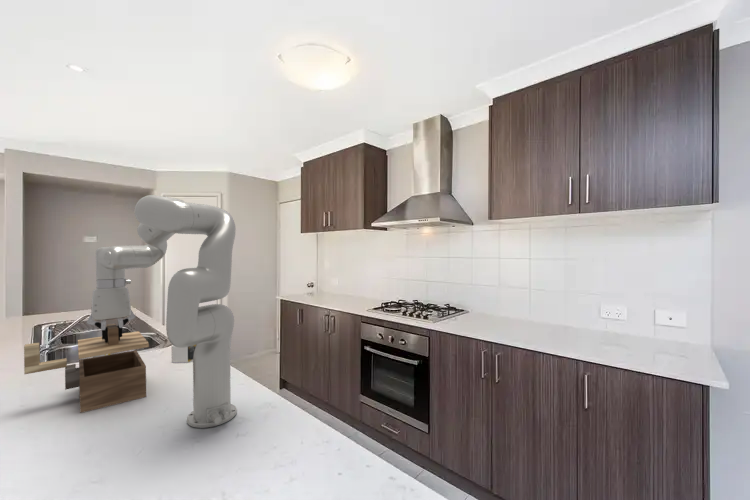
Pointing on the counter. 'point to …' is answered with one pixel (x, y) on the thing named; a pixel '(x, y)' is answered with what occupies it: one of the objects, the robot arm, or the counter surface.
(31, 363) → the bent tan strip
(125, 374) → the brown wooden box
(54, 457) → the counter surface
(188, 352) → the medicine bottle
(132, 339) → the lid
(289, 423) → the counter surface
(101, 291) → the robot arm
